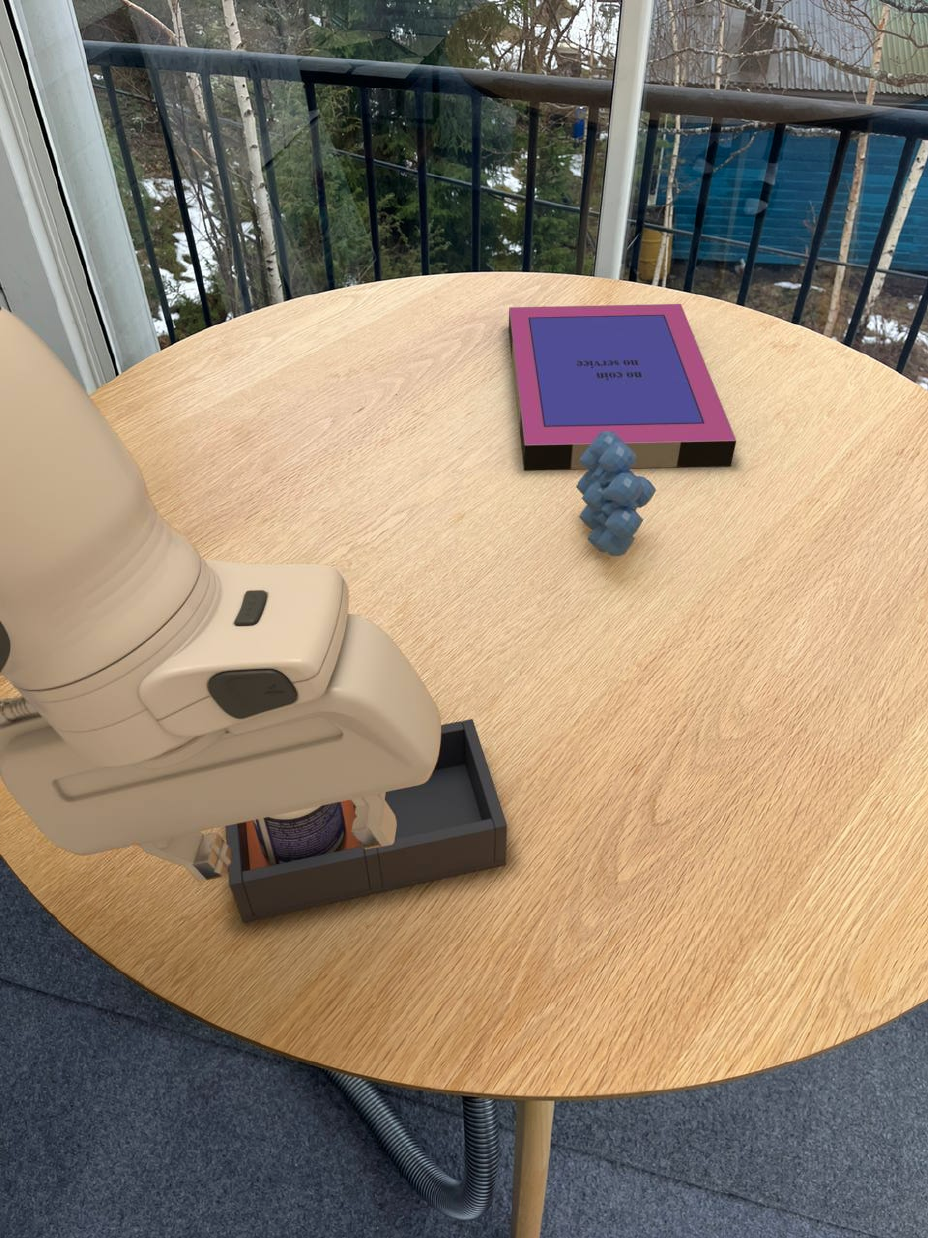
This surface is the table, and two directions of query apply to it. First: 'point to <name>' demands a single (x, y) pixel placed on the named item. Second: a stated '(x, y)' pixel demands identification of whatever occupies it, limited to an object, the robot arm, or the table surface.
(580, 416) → the book
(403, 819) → the tray
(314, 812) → the pill bottle
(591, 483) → the grapes
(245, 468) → the table surface
